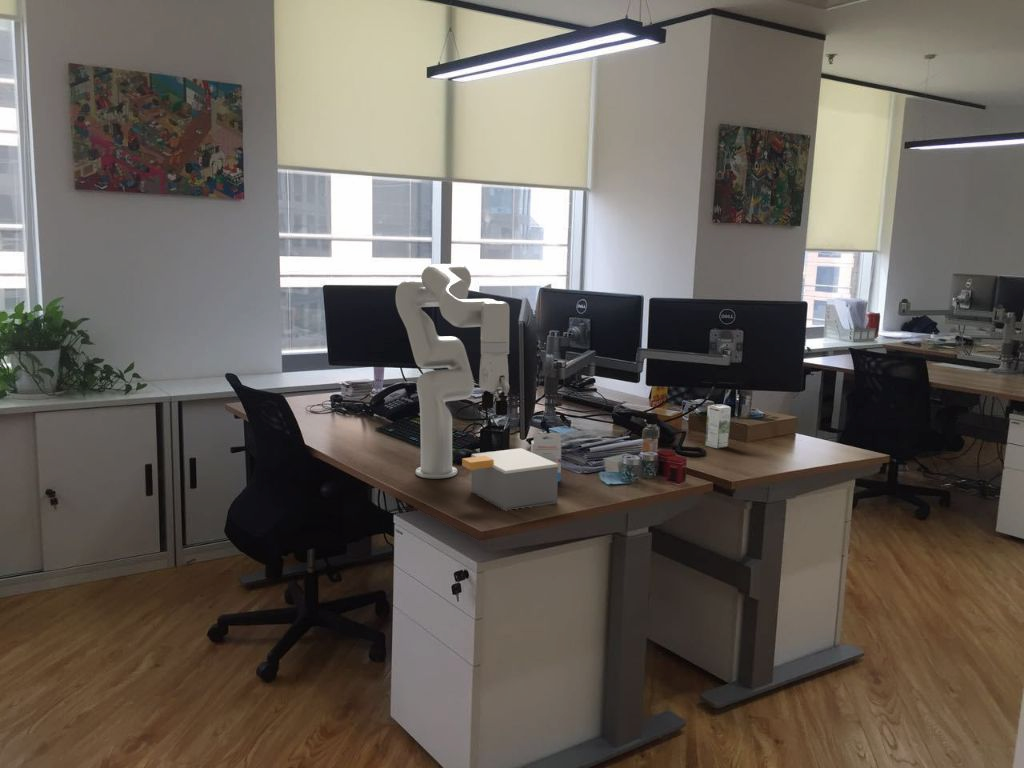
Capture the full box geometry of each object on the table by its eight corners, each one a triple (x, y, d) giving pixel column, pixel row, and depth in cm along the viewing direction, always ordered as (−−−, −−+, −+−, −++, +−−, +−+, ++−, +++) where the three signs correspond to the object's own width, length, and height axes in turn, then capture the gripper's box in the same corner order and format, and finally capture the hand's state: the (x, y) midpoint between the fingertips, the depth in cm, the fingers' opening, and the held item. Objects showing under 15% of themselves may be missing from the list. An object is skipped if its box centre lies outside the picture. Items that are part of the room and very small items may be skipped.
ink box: (558, 477, 256) (559, 429, 254) (561, 482, 251) (561, 433, 249) (530, 478, 255) (531, 429, 253) (532, 482, 251) (533, 433, 248)
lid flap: (450, 459, 236) (450, 452, 236) (521, 450, 247) (521, 444, 246) (483, 476, 219) (483, 469, 218) (557, 466, 229) (557, 459, 229)
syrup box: (716, 443, 302) (718, 403, 300) (729, 447, 297) (731, 406, 295) (704, 445, 299) (706, 405, 297) (717, 449, 294) (719, 407, 292)
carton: (471, 491, 241) (471, 457, 239) (520, 484, 248) (521, 451, 247) (505, 511, 223) (505, 474, 222) (557, 502, 231) (557, 467, 229)
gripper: (470, 345, 232) (469, 406, 234) (494, 352, 216) (493, 418, 219) (495, 344, 235) (495, 405, 237) (521, 351, 219) (520, 416, 222)
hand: (494, 411), depth 228 cm, fingers open, 9 cm apart
